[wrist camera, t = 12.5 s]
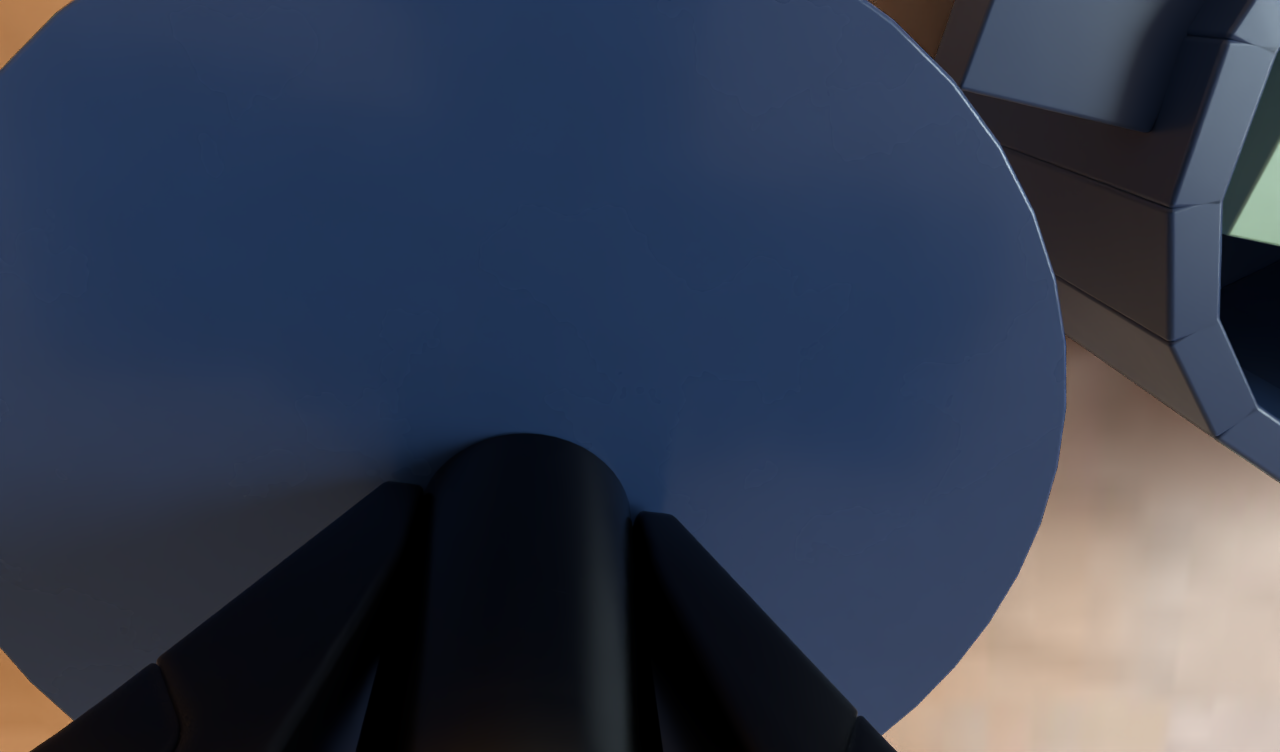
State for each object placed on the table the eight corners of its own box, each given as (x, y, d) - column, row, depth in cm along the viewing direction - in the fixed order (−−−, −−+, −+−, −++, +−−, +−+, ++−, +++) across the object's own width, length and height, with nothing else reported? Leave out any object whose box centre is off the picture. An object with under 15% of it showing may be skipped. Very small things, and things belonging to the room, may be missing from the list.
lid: (838, 815, 14) (983, 1248, 9) (34, 774, 12) (-322, 1316, 7) (1207, 47, 8) (2020, 134, 4) (-152, -299, 6) (-2286, -1130, 2)
